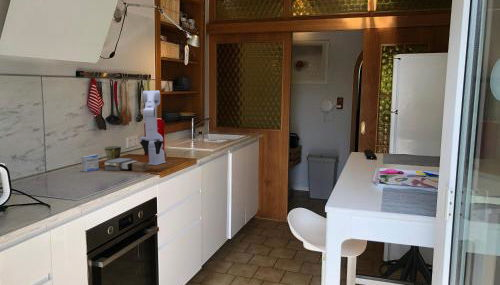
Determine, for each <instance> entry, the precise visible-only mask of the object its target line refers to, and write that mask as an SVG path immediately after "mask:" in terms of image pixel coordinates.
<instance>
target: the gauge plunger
mask: <svg viewBox="0 0 500 285" xmlns="http://www.w3.org/2000/svg"><path fill="white" fill-rule="evenodd" d="M136 162H140V161H139V160H133V161H130V160H129V161H125V162H121V163H120V165H119V166H117V163H116V170H117V167H120V169H124V170H130V169H131V170H132V163H136Z"/></svg>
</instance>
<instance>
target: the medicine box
mask: <svg viewBox="0 0 500 285" xmlns="http://www.w3.org/2000/svg"><path fill="white" fill-rule="evenodd" d="M80 158H81V159H80V160H81V168H82V172H84V173H89V172H94V171H99V168H100V167H99V155H98V154H90V155H84V156H83V155H82V156H81V157H80Z"/></svg>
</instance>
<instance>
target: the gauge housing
mask: <svg viewBox="0 0 500 285" xmlns="http://www.w3.org/2000/svg"><path fill="white" fill-rule="evenodd" d="M129 160H130V161H134V160H133V158H127V157H125V158H124V157H120V158H117V159H113V160H109V161H108V160H105V161H104V168H105V171H115V172H117V171H118V172H120V171H123V170H125V169H120V167H117V170H116V163H117V166H119V165H120V163H121V162H125V161H129Z"/></svg>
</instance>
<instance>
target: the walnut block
mask: <svg viewBox="0 0 500 285" xmlns="http://www.w3.org/2000/svg"><path fill="white" fill-rule="evenodd" d="M149 166H150V165H149V162H140V161H139V162H136V163H132V168H131V171H133V172H134V171H135V172H146V171H149V170H150V167H149ZM148 169H149V170H148Z"/></svg>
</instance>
